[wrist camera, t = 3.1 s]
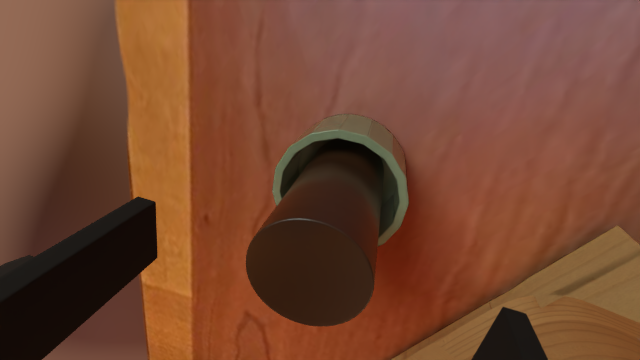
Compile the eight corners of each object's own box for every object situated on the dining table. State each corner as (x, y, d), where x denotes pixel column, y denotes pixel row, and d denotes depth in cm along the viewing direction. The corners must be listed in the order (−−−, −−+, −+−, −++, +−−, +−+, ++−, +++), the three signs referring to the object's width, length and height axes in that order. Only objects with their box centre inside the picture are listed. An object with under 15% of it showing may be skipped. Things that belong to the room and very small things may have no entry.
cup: (287, 202, 25) (265, 233, 20) (304, 101, 21) (282, 115, 17) (387, 230, 24) (385, 269, 20) (421, 129, 20) (427, 151, 16)
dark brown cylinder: (306, 194, 23) (239, 304, 13) (318, 128, 21) (251, 202, 11) (373, 212, 23) (355, 342, 13) (393, 147, 21) (391, 242, 11)
